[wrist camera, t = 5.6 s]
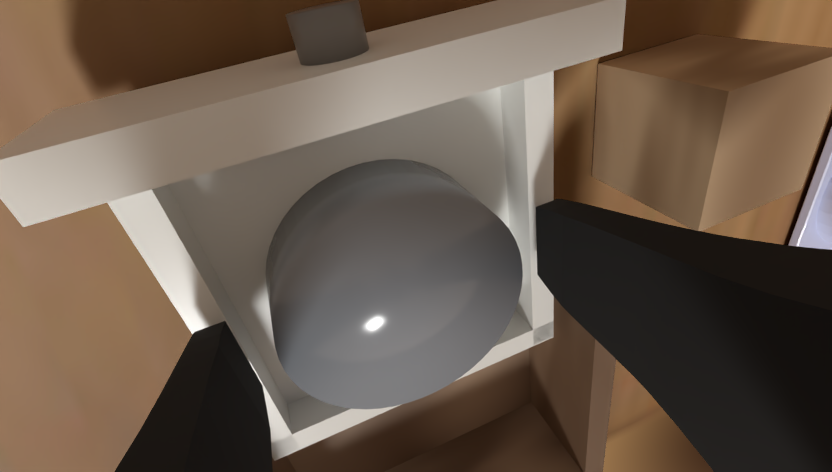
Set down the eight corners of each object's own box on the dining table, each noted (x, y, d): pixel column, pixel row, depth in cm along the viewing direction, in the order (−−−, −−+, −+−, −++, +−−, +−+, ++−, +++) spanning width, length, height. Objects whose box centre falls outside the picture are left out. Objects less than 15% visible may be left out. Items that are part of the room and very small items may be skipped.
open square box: (535, 223, 14) (624, 292, 11) (539, 395, 20) (602, 477, 16) (195, 351, 12) (184, 483, 9) (299, 508, 17) (316, 629, 14)
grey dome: (493, 299, 13) (531, 344, 11) (316, 381, 12) (330, 443, 10) (462, 123, 10) (508, 150, 8) (219, 215, 9) (218, 267, 7)
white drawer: (526, -47, 9) (630, -58, 7) (536, 296, 15) (596, 357, 12) (25, 66, 7) (-73, 106, 5) (249, 415, 13) (254, 516, 10)
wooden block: (697, 33, 13) (850, 50, 10) (678, 145, 15) (801, 188, 12) (598, 63, 12) (729, 91, 9) (592, 176, 14) (698, 232, 11)
